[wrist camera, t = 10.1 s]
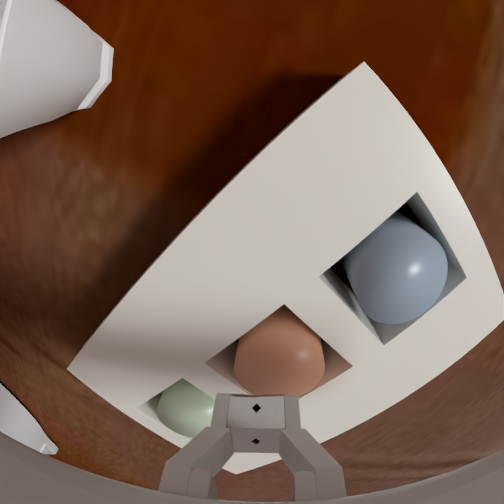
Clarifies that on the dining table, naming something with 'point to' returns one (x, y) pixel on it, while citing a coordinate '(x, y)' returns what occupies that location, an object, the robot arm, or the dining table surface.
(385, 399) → the button panel
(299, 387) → the terracotta button
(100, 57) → the cup
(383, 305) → the slate button
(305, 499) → the robot arm
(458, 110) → the dining table surface
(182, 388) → the sage button
